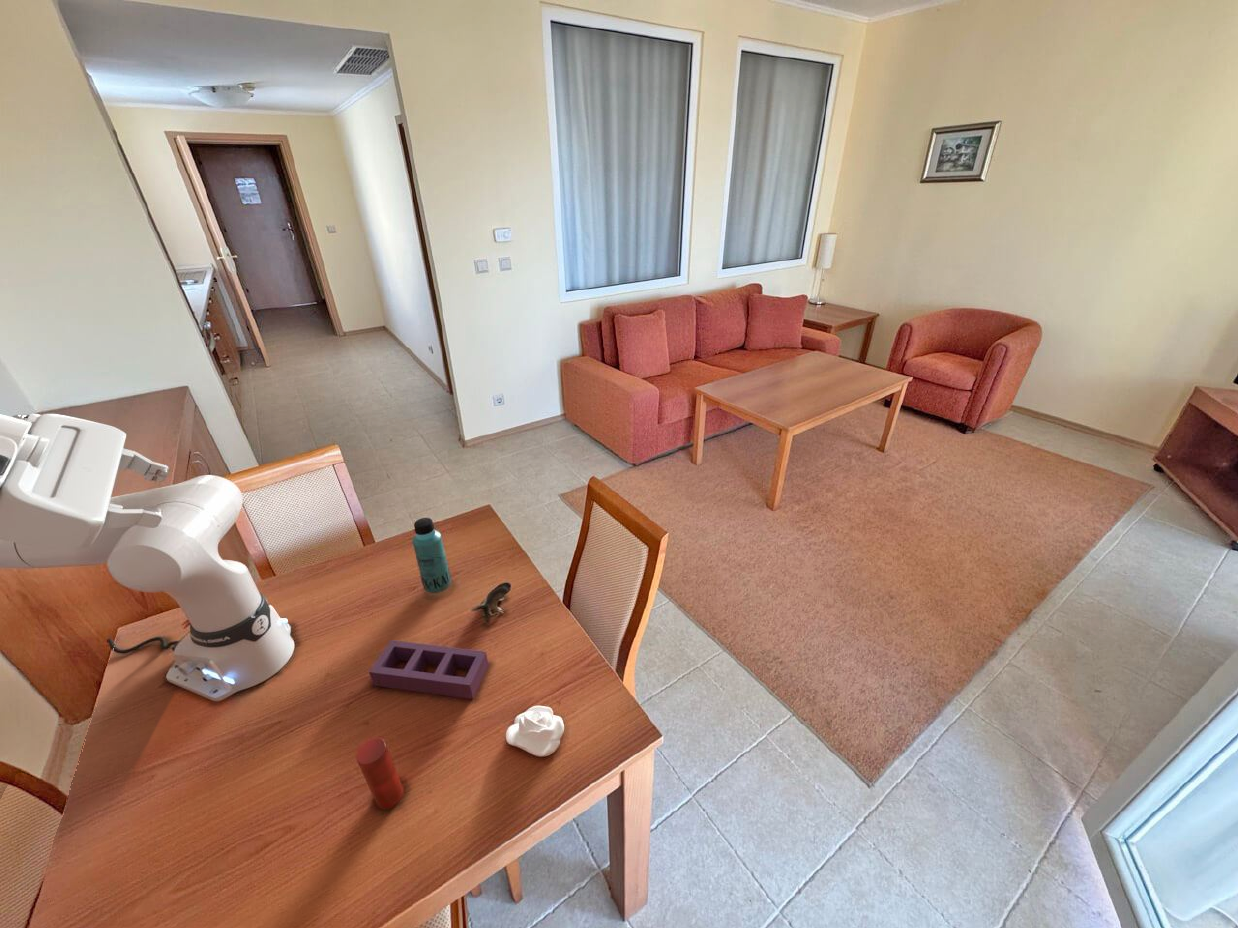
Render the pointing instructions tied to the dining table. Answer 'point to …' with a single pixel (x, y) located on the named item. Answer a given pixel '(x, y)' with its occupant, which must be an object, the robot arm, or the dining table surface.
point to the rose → (536, 731)
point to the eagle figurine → (493, 601)
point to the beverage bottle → (430, 556)
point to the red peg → (380, 773)
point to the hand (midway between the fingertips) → (163, 495)
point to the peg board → (429, 682)
